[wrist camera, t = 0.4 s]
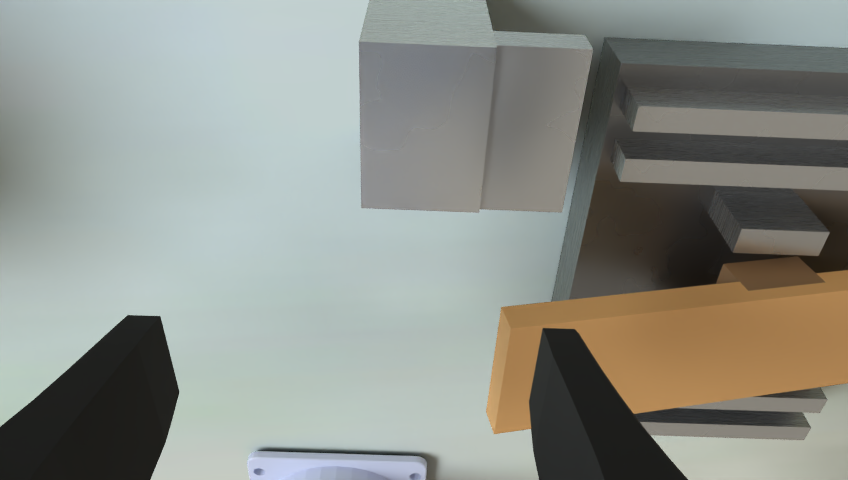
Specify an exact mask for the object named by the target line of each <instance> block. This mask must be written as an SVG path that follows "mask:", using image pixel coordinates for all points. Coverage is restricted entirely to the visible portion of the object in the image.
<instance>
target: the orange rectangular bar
mask: <svg viewBox="0 0 848 480" xmlns="http://www.w3.org/2000/svg"><path fill="white" fill-rule="evenodd" d="M543 328H559V329H575V330H576V331H577V332H578V333H579V334H580V336H581V337H582V339H583V341H584V342H585V344H586V345H587V347H588V349H589V350H590V352H591V353H592V355H593V356H594V358H595V360H596V361H597V363H598V364H599V366H600V367H601V369H602V370H603V372H604V373H605V375H606V376H607V377H608V379H609V380H610V382H611V383H612V385H613V386H614V388H615V389H616V390H617V392H618V393H619V395H620V396H621V397H622V399H623V400H624V401H625V403H626V404H627V406H628V407H629V408H630V410H631V411H632V412H633V414H637V413H644V412H651V411H658V410H664V409H671V408H678V407H685V406H692V405H699V404H706V403H713V402H720V401H727V400H734V399H741V398H748V397H755V396H761V395H768V394H775V393H782V392H789V391H796V390H803V389H810V388H817V387H824V386H831V385H838V384H845V383H848V270H843V271H834V272H824V273H815V272H814V271H813V270H812V269H811V268H810V267H809V266H808V265H806V264H805V263H804V262H803V261H802V260H801V259H800V258H799V257H798V256H796V257H786V258H776V259H766V260H757V261H747V262H737V263H727V264H723V266H722V269H721V271H720V274H719V277H718V279H717V282H716V284H712V285H703V286H694V287H684V288H675V289H666V290H656V291H647V292H638V293H628V294H619V295H610V296H600V297H591V298H582V299H572V300H563V301H554V302H544V303H535V304H526V305H516V306H507V307H501V313H500V320H499V327H498V334H497V340H496V347H495V354H494V361H493V368H492V375H491V382H490V389H489V396H488V402H487V409H486V413H487V416H488V418H489V421H490V424H491V427H492V430H493V433H494V434H498V433H505V432H512V431H519V430H526V429H531V421H530V409H529V399H530V393H531V388H532V382H533V377H534V372H535V366H536V361H537V355H538V350H539V345H540V339H541V334H542V329H543Z"/></svg>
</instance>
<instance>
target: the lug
mask: <svg viewBox="0 0 848 480" xmlns="http://www.w3.org/2000/svg"><path fill="white" fill-rule="evenodd" d="M592 54H593V48H592V46H591V44H590V43H589V41H588V39H587V37H586V36H585V35H575V34H552V33H530V32H507V31H493V29H492V25H491V21H490V16H489V12H488V8H487V4H486V0H369V4H368V8H367V12H366V16H365V20H364V24H363V28H362V32H361V36H360V40H359V78H360V146H361V208H374V209H400V210H426V211H452V212H477V213H479V210H480V209H488V210H513V211H539V212H562V209H563V204H564V199H565V194H566V188H567V183H568V178H569V173H570V168H571V163H572V157H573V152H574V147H575V142H576V137H577V132H578V126H579V121H580V116H581V111H582V106H583V101H584V95H585V90H586V85H587V80H588V75H589V70H590V64H591V59H592Z"/></svg>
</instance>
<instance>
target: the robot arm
mask: <svg viewBox="0 0 848 480" xmlns="http://www.w3.org/2000/svg"><path fill="white" fill-rule="evenodd" d="M178 395H179V389H178V385H177V381H176V377H175V373H174V369H173V365H172V361H171V357H170V353H169V349H168V345H167V341H166V337H165V333H164V329H163V325H162V321H161V317H160V316H134V315H128V316H126V317H125V318H124V319H123V320H122V321H121V322H120V323H118V324H117V325H116V326H115V327H114V328H113V329H112V330H111V331H110V332H108V333H107V334H106V335H105V336H104V337H103V338H102V339H101V340H100V341H99V342H98V343H96V344H95V345H94V346H93V347H92V348H91V349H90V350H89V351H88V352H87V353H86V354H84V355H83V356H82V357H81V358H80V359H79V360H78V361H77V362H76V363H75V364H73V365H72V366H71V367H70V368H69V369H68V370H67V371H66V372H65V373H63V374H62V375H61V376H60V377H59V378H58V379H57V380H56V381H54V382H53V383H52V384H51V385H50V386H49V387H48V388H46V389H45V390H44V391H43V392H42V393H41V394H40V395H39V396H37V397H36V398H35V399H34V400H33V401H31V402H30V403H29V404H28V405H27V406H25V407H24V408H23V409H22V410H20V411H19V412H18V413H17V414H16V415H14V416H13V417H12V418H11V419H9V420H8V421H7V422H6V423H4V424H3V425H2V426H1V427H0V480H150V479H151V476H152V474H153V471H154V469H155V467H156V464H157V462H158V459H159V457H160V455H161V452H162V450H163V447H164V445H165V442H166V439H167V435H168V432H169V428H170V425H171V421H172V418H173V414H174V410H175V406H176V403H177V399H178ZM529 409H530V421H531V432H532V441H533V451H534V457H535V461H536V466H537V471H538V476H539V480H688V479H687V478H686V477H685V476H684V475H683V474H682V472H681V471H680V470H679V469H678V468H677V467H676V466H675V464H674V463H673V462H672V461H671V460H670V459H669V457H668V456H667V455H666V454H665V453H664V451H663V450H662V449H661V448H660V447H659V445H658V444H657V443H656V442H655V441H654V439H653V438H652V437H651V436H650V434H649V433H648V432H647V431H646V429H645V428H644V427H643V426H642V424H641V423H640V422H639V420H638V419H637V418H636V416H635V415H634V414H633V412H632V411H631V410H630V408H629V407H628V406H627V404H626V403H625V401H624V400H623V399H622V397H621V396H620V395H619V393H618V392H617V390H616V389H615V388H614V386H613V385H612V383H611V382H610V380H609V379H608V377H607V376H606V375H605V373H604V372H603V370H602V369H601V367H600V366H599V364H598V363H597V361H596V360H595V358H594V356H593V355H592V353H591V352H590V350H589V349H588V347H587V345H586V344H585V342H584V341H583V339H582V337H581V336H580V334H579V333H578V332H577V331H576V330H575V329H559V328H543V329H542V334H541V339H540V345H539V350H538V355H537V361H536V366H535V372H534V377H533V382H532V388H531V393H530V399H529ZM247 466H248V471H249V477H250V480H426V475H427V462H426V460H425V459H424V458H422V457H419V456H398V455H366V454H335V453H304V452H272V451H255V452H253V453H251V454H250V455H249V457H248V461H247Z"/></svg>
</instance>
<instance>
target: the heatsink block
mask: <svg viewBox="0 0 848 480" xmlns="http://www.w3.org/2000/svg"><path fill="white" fill-rule="evenodd" d="M796 256H798V257H799V258H800V259H801V260H802V261H803V262H804V263H805V264H806V265H808V266H809V267H810V268H811V269H812V270H813V271H814V272H815V273H824V272H834V271H843V270H848V48H829V47H806V46H784V45H761V44H738V43H716V42H693V41H670V40H648V39H625V38H605V39H604V44H603V49H602V54H601V59H600V64H599V69H598V74H597V79H596V83H595V88H594V93H593V98H592V103H591V108H590V113H589V118H588V123H587V128H586V133H585V138H584V143H583V148H582V153H581V158H580V163H579V168H578V173H577V178H576V183H575V188H574V193H573V198H572V203H571V207H570V212H569V217H568V222H567V227H566V232H565V237H564V242H563V247H562V252H561V257H560V262H559V267H558V272H557V277H556V282H555V287H554V292H553V297H552V302H554V301H563V300H572V299H582V298H591V297H600V296H610V295H619V294H628V293H638V292H647V291H656V290H666V289H675V288H684V287H694V286H703V285H712V284H716V282H717V279H718V277H719V274H720V271H721V269H722V266H723V264H727V263H737V262H747V261H757V260H766V259H776V258H786V257H796ZM827 400H828V399H827V398H826V396H825V394H824V393H823V391H822V390H821V388H820V387H817V388H810V389H803V390H796V391H789V392H782V393H775V394H768V395H761V396H755V397H748V398H741V399H734V400H727V401H720V402H713V403H706V404H699V405H692V406H685V407H678V408H671V409H664V410H658V411H651V412H644V413H637V414H634V415H635V416H636V418H637V419H638V420H639V422H640V423H641V424H642V426H643V427H644V428H645V429H646V431H647V432H648V433H649V434H650V435H663V436H694V437H725V438H755V439H786V440H804V439H805V437H806V436H807V434H808V432H809V430H810V429H811V426H810V425H809V423H808V421H807V420H806V418H805V416H804V414H803V413H802V412H809V413H820V412H821V410H822V408H823V406H824V405H825V403H826V401H827Z"/></svg>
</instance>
